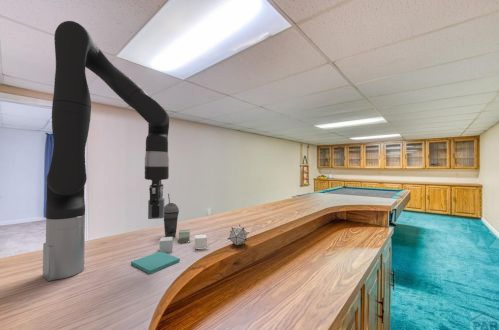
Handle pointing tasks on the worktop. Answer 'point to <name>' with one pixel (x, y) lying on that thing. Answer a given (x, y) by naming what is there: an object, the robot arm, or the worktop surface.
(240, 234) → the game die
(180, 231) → the sage block
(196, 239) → the offwhite block
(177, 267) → the worktop surface
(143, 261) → the teal mat
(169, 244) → the grey block
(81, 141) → the robot arm
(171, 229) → the beverage cup
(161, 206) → the charcoal block
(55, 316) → the worktop surface
